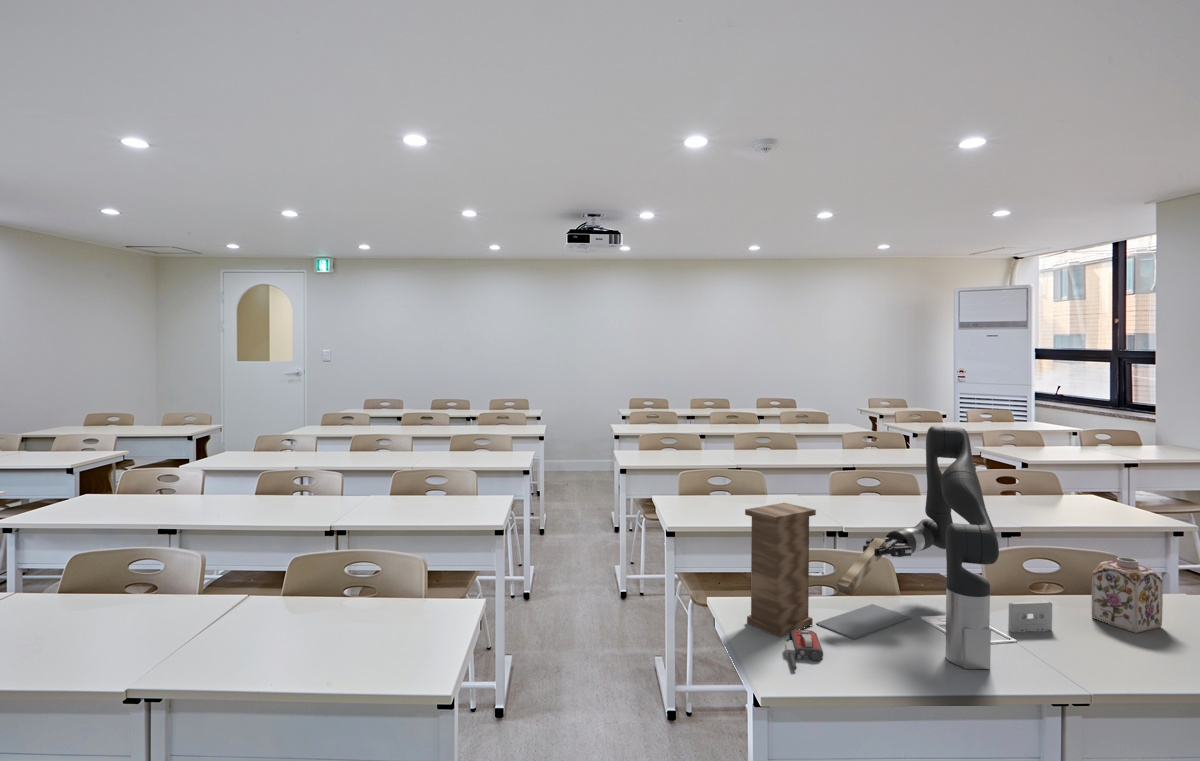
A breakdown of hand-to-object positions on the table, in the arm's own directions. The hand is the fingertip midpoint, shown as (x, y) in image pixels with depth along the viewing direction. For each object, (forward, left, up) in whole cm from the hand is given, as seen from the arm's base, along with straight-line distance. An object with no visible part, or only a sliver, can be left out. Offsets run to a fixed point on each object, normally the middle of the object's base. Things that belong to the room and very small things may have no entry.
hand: (870, 551), depth 182 cm
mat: (-2, +2, -19) cm, 20 cm away
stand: (-4, +26, -19) cm, 33 cm away
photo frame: (-7, -24, -20) cm, 32 cm away
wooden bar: (-1, +2, -5) cm, 5 cm away
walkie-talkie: (-23, +25, -20) cm, 40 cm away
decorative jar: (0, -71, -20) cm, 73 cm away
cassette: (-6, -41, -20) cm, 46 cm away
